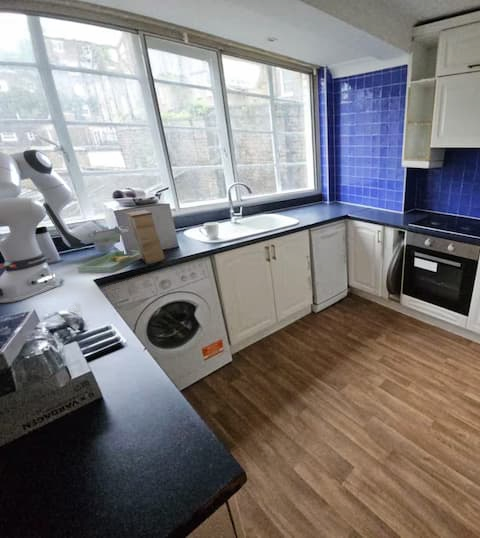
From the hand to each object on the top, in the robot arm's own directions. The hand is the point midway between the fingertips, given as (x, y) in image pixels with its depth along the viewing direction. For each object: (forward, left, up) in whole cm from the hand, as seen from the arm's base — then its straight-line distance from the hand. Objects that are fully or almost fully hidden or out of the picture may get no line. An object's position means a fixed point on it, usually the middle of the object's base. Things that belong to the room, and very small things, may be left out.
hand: (106, 229), depth 152 cm
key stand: (+3, -18, -18) cm, 26 cm away
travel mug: (0, +37, -18) cm, 41 cm away
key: (-2, -3, -16) cm, 16 cm away
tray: (-2, 0, -18) cm, 18 cm away
